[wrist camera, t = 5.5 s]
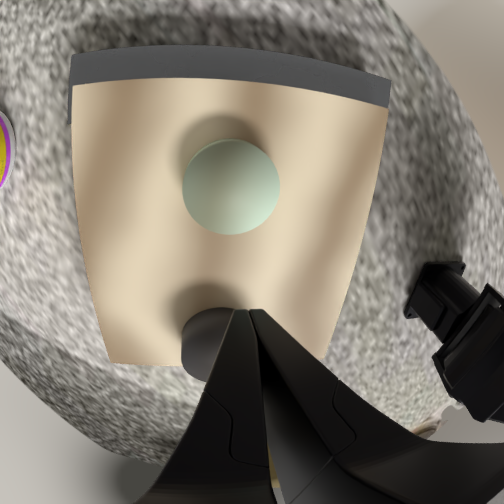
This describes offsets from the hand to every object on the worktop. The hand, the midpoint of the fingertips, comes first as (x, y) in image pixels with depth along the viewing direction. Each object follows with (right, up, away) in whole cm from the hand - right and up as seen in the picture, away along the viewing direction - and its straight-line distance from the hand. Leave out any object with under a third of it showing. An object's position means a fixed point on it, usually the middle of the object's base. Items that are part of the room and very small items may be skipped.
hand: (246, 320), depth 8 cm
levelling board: (-2, +2, +9) cm, 9 cm away
